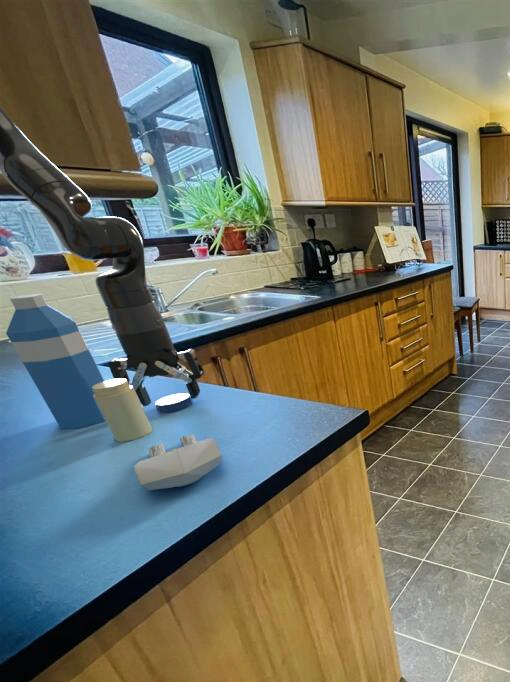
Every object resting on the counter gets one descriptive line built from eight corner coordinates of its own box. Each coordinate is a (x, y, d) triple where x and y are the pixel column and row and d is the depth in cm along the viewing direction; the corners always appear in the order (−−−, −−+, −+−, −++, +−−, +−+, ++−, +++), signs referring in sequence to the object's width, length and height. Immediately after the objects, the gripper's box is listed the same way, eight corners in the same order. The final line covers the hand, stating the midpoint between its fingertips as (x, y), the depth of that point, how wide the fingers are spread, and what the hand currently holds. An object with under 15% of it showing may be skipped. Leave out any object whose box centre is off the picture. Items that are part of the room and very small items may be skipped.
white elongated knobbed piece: (211, 444, 75) (201, 421, 73) (232, 474, 61) (221, 446, 59) (141, 468, 68) (129, 443, 67) (148, 507, 54) (133, 477, 53)
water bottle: (74, 432, 76) (2, 303, 66) (47, 425, 80) (-26, 300, 69) (131, 410, 84) (74, 292, 74) (104, 405, 87) (46, 290, 77)
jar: (110, 444, 72) (82, 392, 68) (121, 431, 76) (96, 381, 72) (148, 437, 74) (123, 385, 70) (156, 424, 78) (133, 375, 74)
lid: (179, 412, 83) (176, 404, 82) (151, 413, 83) (147, 405, 82) (198, 399, 88) (196, 392, 88) (172, 401, 88) (169, 393, 88)
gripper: (190, 318, 84) (215, 388, 90) (105, 326, 79) (139, 399, 86) (176, 327, 77) (205, 402, 84) (83, 337, 73) (121, 415, 80)
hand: (171, 400), depth 85 cm, fingers open, 8 cm apart
